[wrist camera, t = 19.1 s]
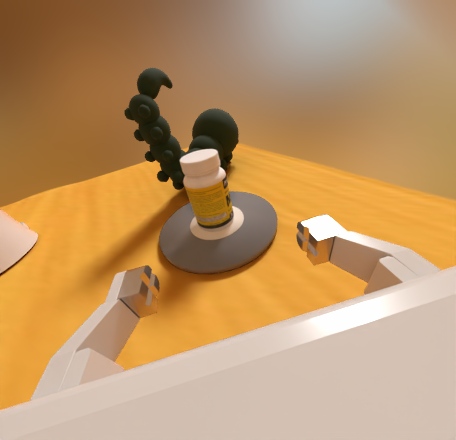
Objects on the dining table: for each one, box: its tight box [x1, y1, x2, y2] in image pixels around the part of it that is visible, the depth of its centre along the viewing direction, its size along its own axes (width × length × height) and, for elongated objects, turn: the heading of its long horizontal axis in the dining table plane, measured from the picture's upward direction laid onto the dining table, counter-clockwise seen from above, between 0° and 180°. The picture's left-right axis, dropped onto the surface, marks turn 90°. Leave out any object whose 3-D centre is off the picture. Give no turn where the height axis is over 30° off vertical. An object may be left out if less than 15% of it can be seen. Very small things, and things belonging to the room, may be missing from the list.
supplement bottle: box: [180, 149, 234, 232], centre depth 21 cm, size 5×5×8 cm
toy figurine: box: [125, 68, 238, 190], centre depth 33 cm, size 9×19×25 cm
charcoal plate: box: [159, 192, 277, 274], centre depth 24 cm, size 15×15×1 cm
